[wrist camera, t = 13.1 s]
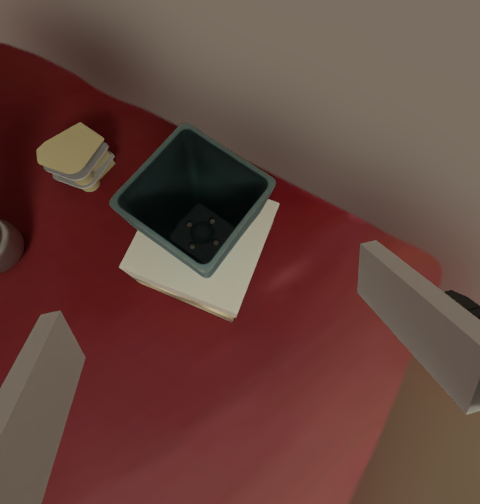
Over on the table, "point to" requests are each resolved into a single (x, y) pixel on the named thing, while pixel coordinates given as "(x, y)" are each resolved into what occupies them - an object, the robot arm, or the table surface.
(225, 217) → the flower pot
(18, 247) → the plastic bottle
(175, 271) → the top slab
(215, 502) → the table surface
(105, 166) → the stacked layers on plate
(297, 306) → the table surface
